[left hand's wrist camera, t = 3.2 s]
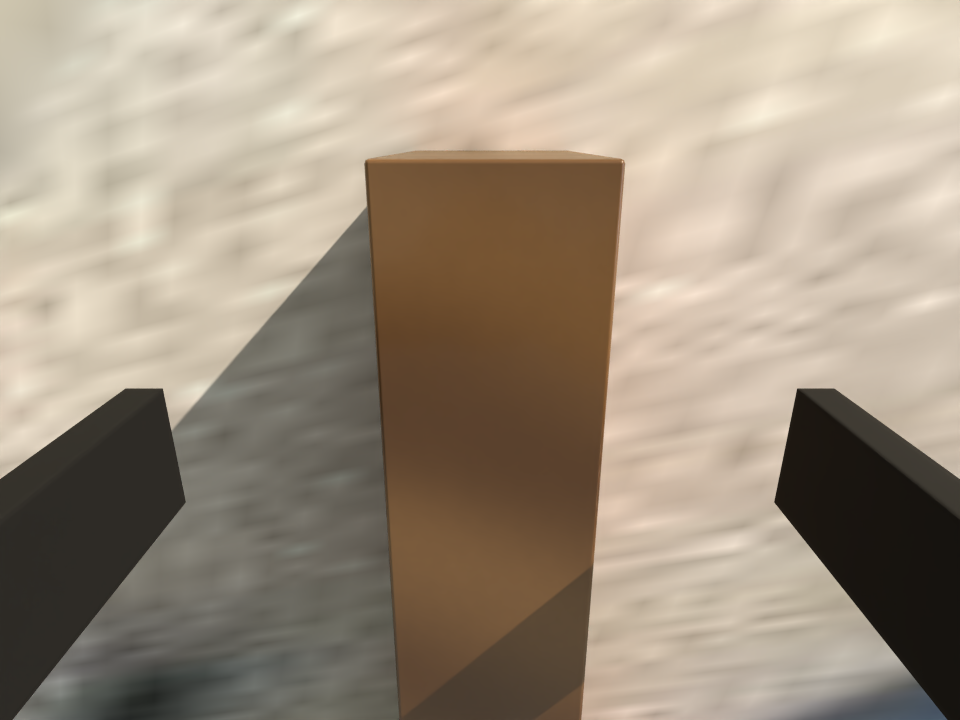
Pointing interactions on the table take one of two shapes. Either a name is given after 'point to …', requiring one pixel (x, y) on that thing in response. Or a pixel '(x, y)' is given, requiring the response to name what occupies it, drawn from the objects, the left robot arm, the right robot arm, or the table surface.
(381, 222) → the beam
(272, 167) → the table surface
